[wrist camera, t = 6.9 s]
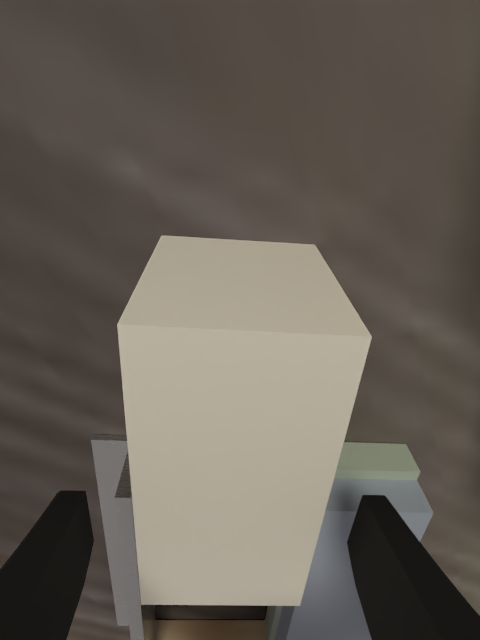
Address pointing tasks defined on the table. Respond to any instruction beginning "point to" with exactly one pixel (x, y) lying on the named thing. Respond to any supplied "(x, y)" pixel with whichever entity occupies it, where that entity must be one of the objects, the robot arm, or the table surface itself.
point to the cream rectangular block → (235, 416)
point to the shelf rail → (210, 630)
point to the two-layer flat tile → (332, 550)
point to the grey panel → (121, 534)
